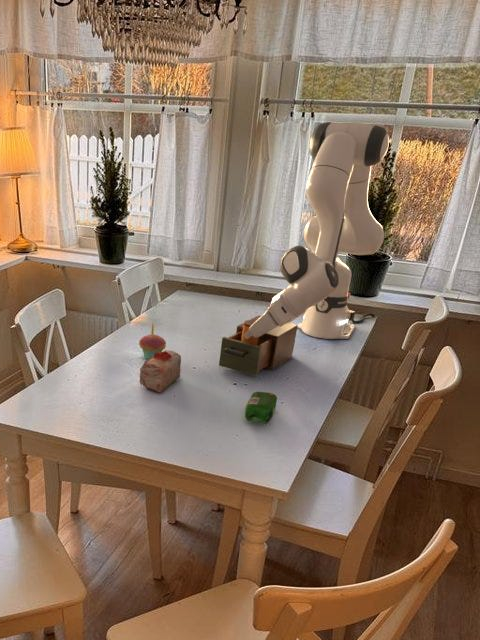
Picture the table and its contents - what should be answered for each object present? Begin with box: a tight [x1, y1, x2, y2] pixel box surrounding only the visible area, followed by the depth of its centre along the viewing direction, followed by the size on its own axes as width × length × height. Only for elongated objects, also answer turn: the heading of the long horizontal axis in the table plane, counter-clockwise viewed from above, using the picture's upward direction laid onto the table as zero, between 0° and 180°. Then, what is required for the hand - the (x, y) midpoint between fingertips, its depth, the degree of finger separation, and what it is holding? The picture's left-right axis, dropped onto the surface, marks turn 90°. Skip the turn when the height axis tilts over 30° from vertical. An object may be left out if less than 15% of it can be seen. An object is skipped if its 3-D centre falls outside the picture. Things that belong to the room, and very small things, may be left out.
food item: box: [139, 349, 182, 393], centre depth 187 cm, size 14×8×10 cm, turn 151°
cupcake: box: [138, 322, 167, 360], centre depth 205 cm, size 9×8×12 cm
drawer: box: [218, 330, 274, 377], centre depth 199 cm, size 18×13×9 cm
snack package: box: [244, 390, 278, 424], centre depth 173 cm, size 7×16×5 cm, turn 161°
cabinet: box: [235, 315, 299, 371], centre depth 208 cm, size 15×14×11 cm
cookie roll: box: [241, 319, 259, 345], centre depth 197 cm, size 5×5×8 cm
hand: (248, 333), depth 197 cm, fingers closed on cookie roll, 5 cm apart
